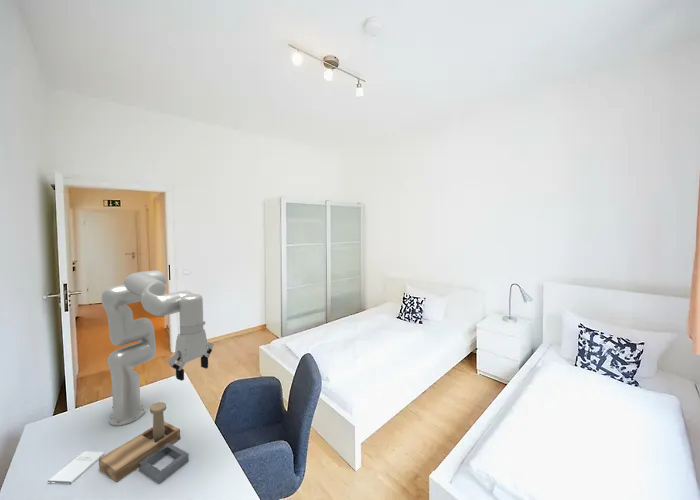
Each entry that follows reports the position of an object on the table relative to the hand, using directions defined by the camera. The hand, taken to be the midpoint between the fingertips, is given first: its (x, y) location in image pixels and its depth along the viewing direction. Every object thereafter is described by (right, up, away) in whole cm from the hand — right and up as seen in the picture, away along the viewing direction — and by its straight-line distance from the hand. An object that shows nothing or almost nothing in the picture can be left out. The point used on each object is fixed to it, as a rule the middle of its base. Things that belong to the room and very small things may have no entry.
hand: (192, 373), depth 106 cm
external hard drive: (-38, -32, -5) cm, 50 cm away
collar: (-8, -32, -4) cm, 33 cm away
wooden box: (-20, -31, +2) cm, 37 cm away
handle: (-17, -31, +7) cm, 36 cm away
